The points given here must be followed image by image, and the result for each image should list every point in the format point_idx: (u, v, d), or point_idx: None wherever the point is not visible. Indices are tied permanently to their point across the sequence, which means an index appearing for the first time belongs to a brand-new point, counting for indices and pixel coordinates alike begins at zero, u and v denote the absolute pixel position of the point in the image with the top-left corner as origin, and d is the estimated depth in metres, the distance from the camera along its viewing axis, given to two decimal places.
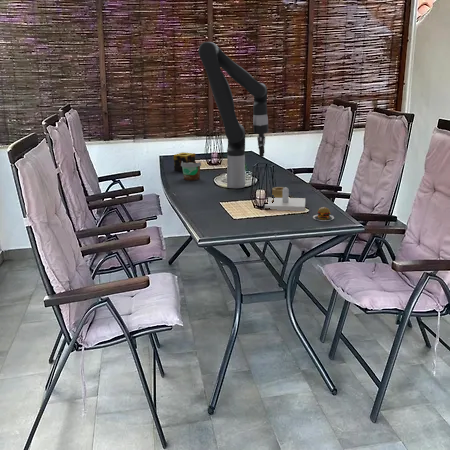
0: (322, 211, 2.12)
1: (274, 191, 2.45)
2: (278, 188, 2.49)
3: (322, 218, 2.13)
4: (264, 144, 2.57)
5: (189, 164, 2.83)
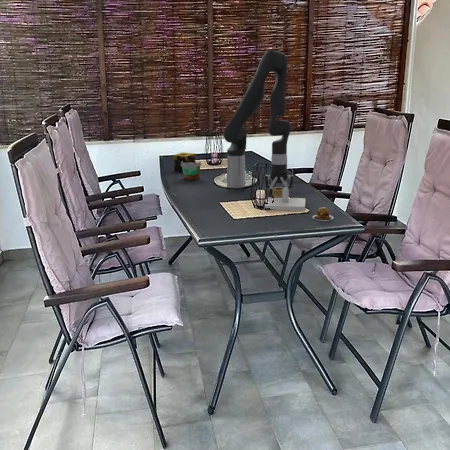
0: (321, 211, 2.12)
1: (274, 191, 2.45)
2: (278, 188, 2.49)
3: (321, 218, 2.13)
4: (285, 182, 2.47)
5: (189, 164, 2.83)
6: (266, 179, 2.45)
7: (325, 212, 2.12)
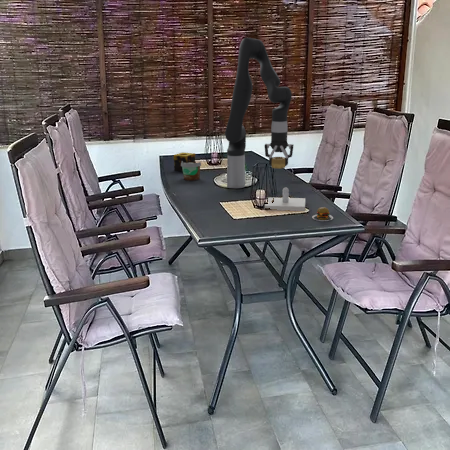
0: (321, 211, 2.12)
1: (274, 160, 2.40)
2: (278, 158, 2.44)
3: (321, 218, 2.13)
4: (285, 152, 2.42)
5: (189, 164, 2.83)
6: (266, 148, 2.40)
7: (325, 212, 2.12)
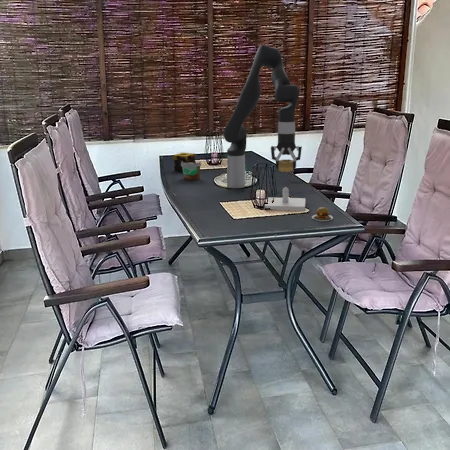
0: (321, 211, 2.12)
1: (281, 163, 2.25)
2: (285, 160, 2.29)
3: (321, 218, 2.13)
4: None
5: (189, 164, 2.83)
6: (272, 150, 2.25)
7: (324, 212, 2.12)
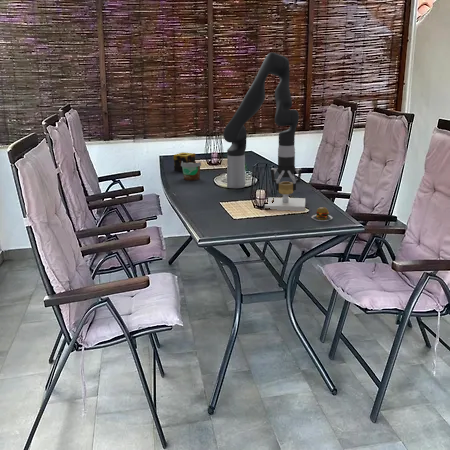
0: (320, 211, 2.12)
1: (281, 186, 2.28)
2: (285, 183, 2.33)
3: (320, 218, 2.13)
4: None
5: (189, 164, 2.83)
6: (272, 173, 2.29)
7: (324, 212, 2.12)
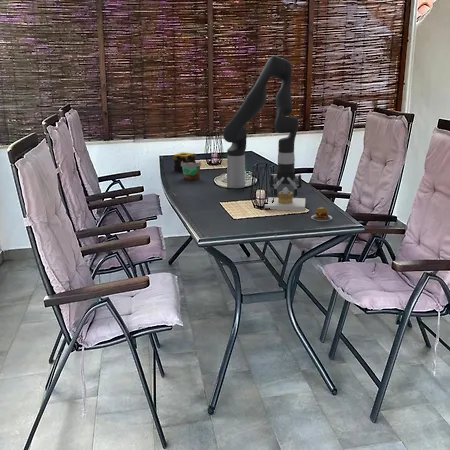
0: (320, 211, 2.12)
1: (280, 195, 2.30)
2: None
3: (320, 218, 2.13)
4: (293, 182, 2.31)
5: (189, 164, 2.83)
6: (271, 178, 2.29)
7: (323, 212, 2.12)
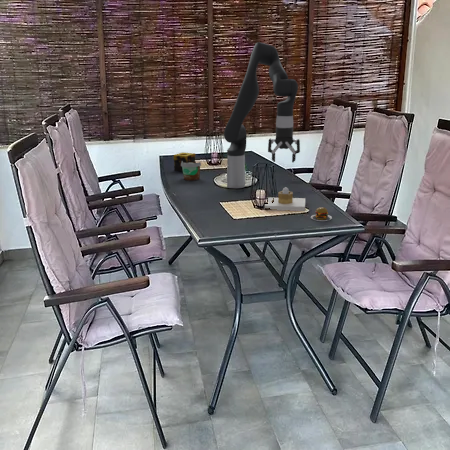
0: (319, 211, 2.12)
1: (280, 195, 2.30)
2: None
3: (319, 218, 2.13)
4: None
5: (189, 164, 2.83)
6: (269, 143, 2.27)
7: (323, 212, 2.12)
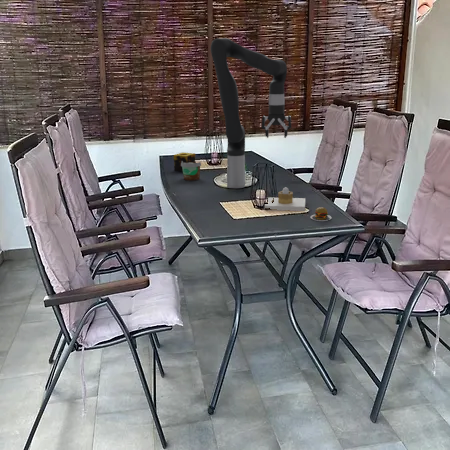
0: (319, 211, 2.12)
1: (280, 195, 2.30)
2: None
3: (319, 218, 2.13)
4: None
5: (189, 164, 2.83)
6: (263, 120, 2.44)
7: (322, 212, 2.12)
